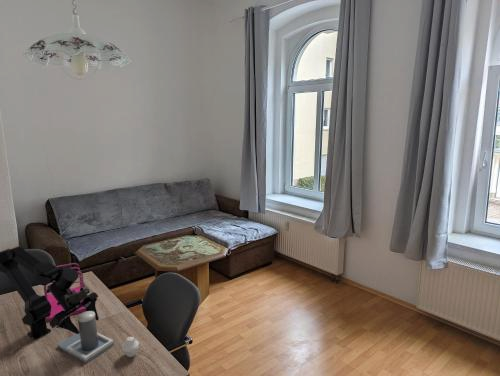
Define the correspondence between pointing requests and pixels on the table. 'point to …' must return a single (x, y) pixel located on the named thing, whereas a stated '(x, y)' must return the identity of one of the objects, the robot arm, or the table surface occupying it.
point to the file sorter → (53, 301)
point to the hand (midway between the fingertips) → (88, 326)
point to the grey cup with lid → (88, 330)
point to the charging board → (74, 349)
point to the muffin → (130, 346)
